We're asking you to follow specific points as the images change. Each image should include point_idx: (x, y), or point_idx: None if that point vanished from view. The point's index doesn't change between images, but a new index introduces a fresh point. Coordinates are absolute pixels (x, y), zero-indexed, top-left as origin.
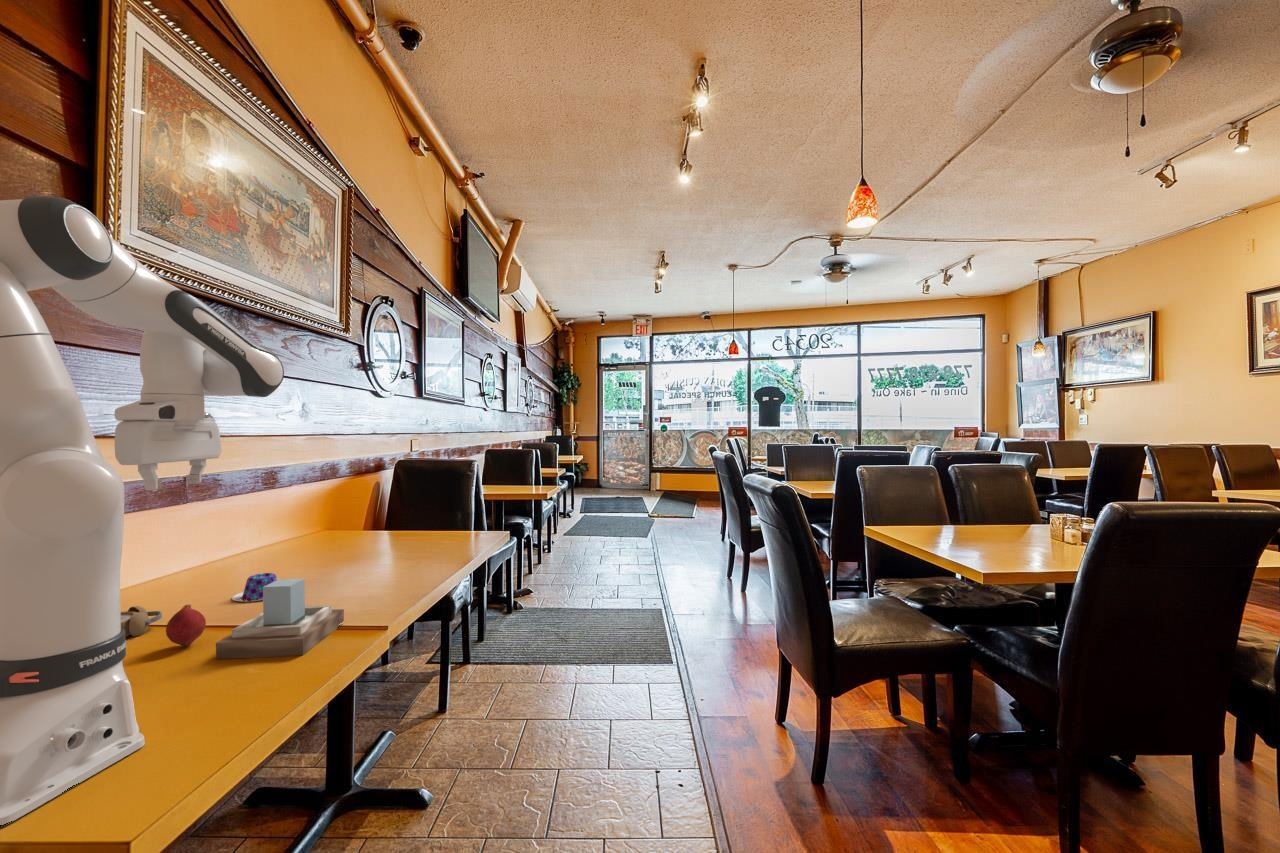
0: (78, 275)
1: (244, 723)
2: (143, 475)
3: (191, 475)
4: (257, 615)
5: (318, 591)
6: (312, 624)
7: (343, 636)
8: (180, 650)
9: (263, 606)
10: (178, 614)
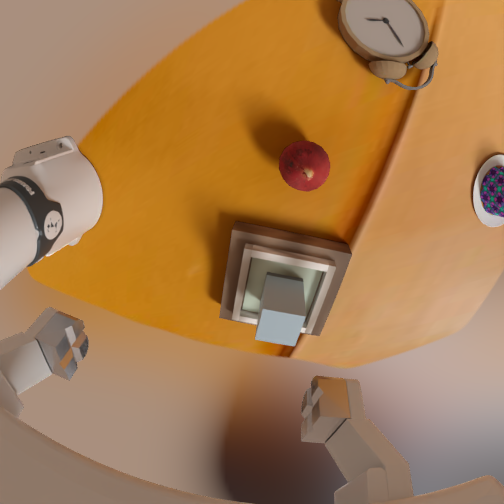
0: None
1: (101, 293)
2: (4, 349)
3: (316, 427)
4: (302, 260)
5: (475, 262)
6: None
7: None
8: None
9: (265, 290)
10: (294, 164)
